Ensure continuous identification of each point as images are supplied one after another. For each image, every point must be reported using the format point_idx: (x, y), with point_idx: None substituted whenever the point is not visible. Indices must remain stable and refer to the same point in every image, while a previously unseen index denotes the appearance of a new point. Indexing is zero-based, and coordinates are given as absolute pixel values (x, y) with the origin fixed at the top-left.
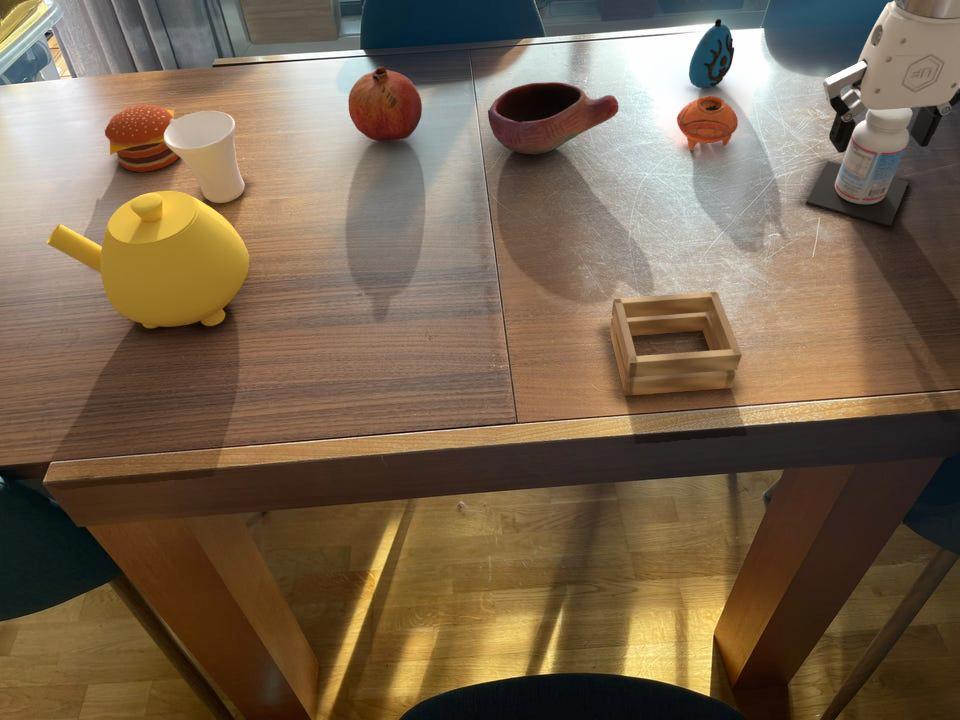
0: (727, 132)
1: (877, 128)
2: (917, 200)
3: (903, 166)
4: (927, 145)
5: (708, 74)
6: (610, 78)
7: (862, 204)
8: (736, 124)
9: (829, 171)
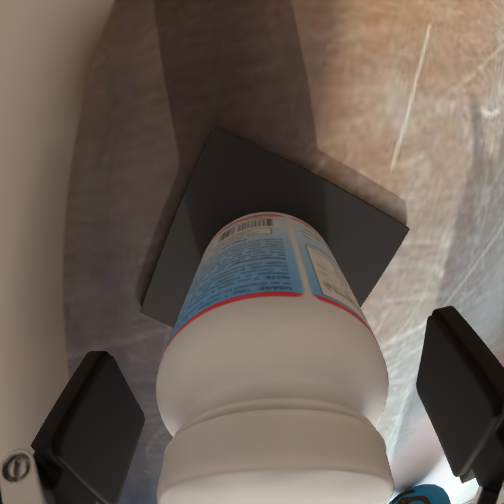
0: None
1: (357, 416)
2: (126, 249)
3: (145, 363)
4: (89, 352)
5: (429, 500)
6: None
7: None
8: None
9: None
